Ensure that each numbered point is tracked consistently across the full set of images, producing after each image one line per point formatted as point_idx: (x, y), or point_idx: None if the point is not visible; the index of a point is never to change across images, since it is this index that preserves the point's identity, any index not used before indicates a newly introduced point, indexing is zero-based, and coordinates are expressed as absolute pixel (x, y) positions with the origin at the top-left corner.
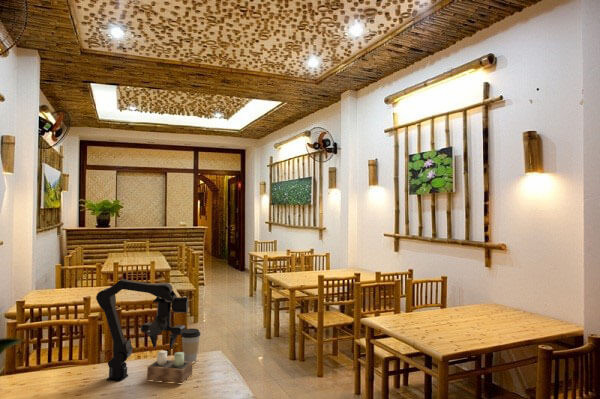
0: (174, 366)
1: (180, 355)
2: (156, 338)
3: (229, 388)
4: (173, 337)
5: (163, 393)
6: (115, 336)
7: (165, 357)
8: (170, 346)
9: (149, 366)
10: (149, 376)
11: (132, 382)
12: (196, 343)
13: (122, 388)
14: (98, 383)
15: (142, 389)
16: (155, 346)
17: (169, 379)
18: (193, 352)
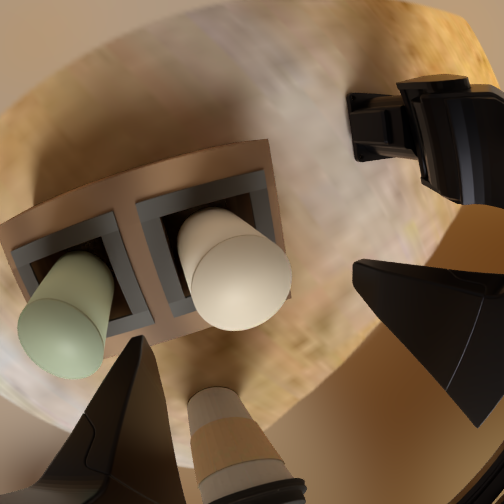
0: (90, 256)
1: (20, 318)
2: (414, 352)
3: None
4: (16, 491)
5: (50, 75)
6: None
7: (185, 268)
8: (125, 357)
9: (261, 153)
10: (229, 144)
11: (292, 103)
12: (196, 479)
13: (285, 36)
14: (391, 68)
15: (183, 52)
16: (354, 286)
17: (92, 182)
18: (194, 439)
